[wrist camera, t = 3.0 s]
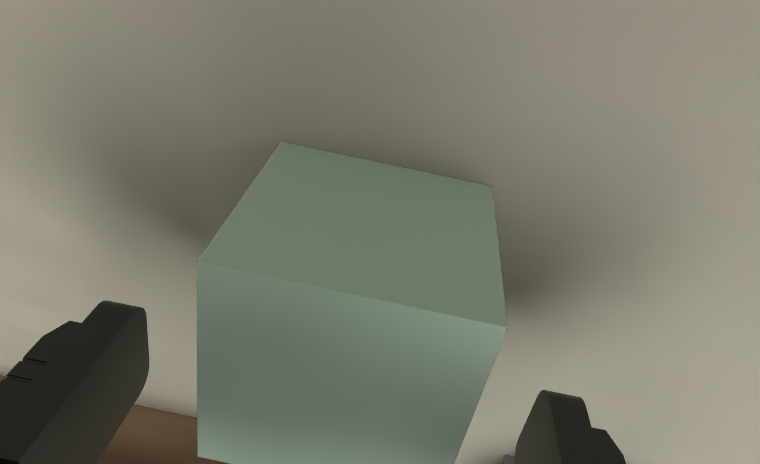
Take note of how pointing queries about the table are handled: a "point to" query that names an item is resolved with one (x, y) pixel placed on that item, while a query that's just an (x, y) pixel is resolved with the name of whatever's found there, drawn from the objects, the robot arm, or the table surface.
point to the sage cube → (347, 314)
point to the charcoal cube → (508, 460)
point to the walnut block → (154, 439)
